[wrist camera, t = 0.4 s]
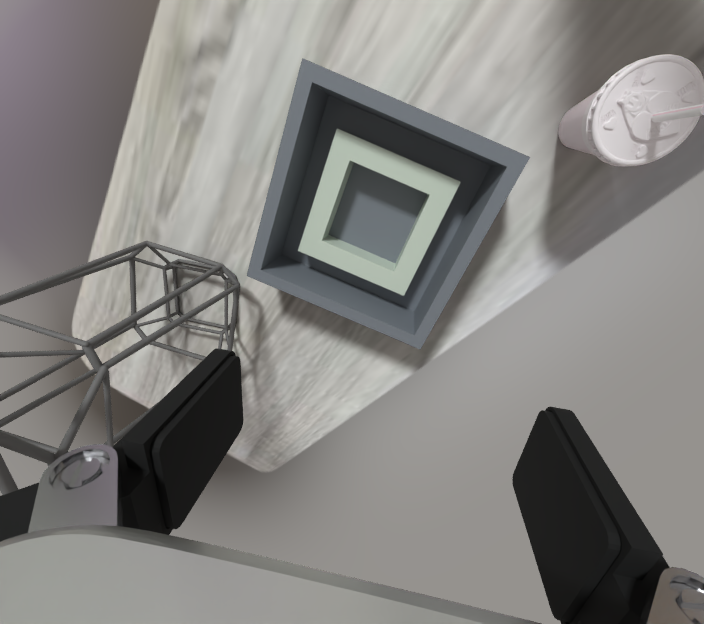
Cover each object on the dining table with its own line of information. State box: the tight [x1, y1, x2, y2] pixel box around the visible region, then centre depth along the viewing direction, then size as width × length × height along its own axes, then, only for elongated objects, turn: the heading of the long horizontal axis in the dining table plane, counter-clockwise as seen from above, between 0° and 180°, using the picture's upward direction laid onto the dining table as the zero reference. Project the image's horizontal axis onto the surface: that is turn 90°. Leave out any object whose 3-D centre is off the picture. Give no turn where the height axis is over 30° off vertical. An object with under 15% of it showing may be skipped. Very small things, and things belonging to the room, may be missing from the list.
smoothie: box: [558, 54, 704, 167], centre depth 24 cm, size 6×6×14 cm
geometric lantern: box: [0, 241, 240, 495], centre depth 28 cm, size 16×16×35 cm
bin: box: [247, 58, 530, 349], centre depth 33 cm, size 19×19×7 cm
